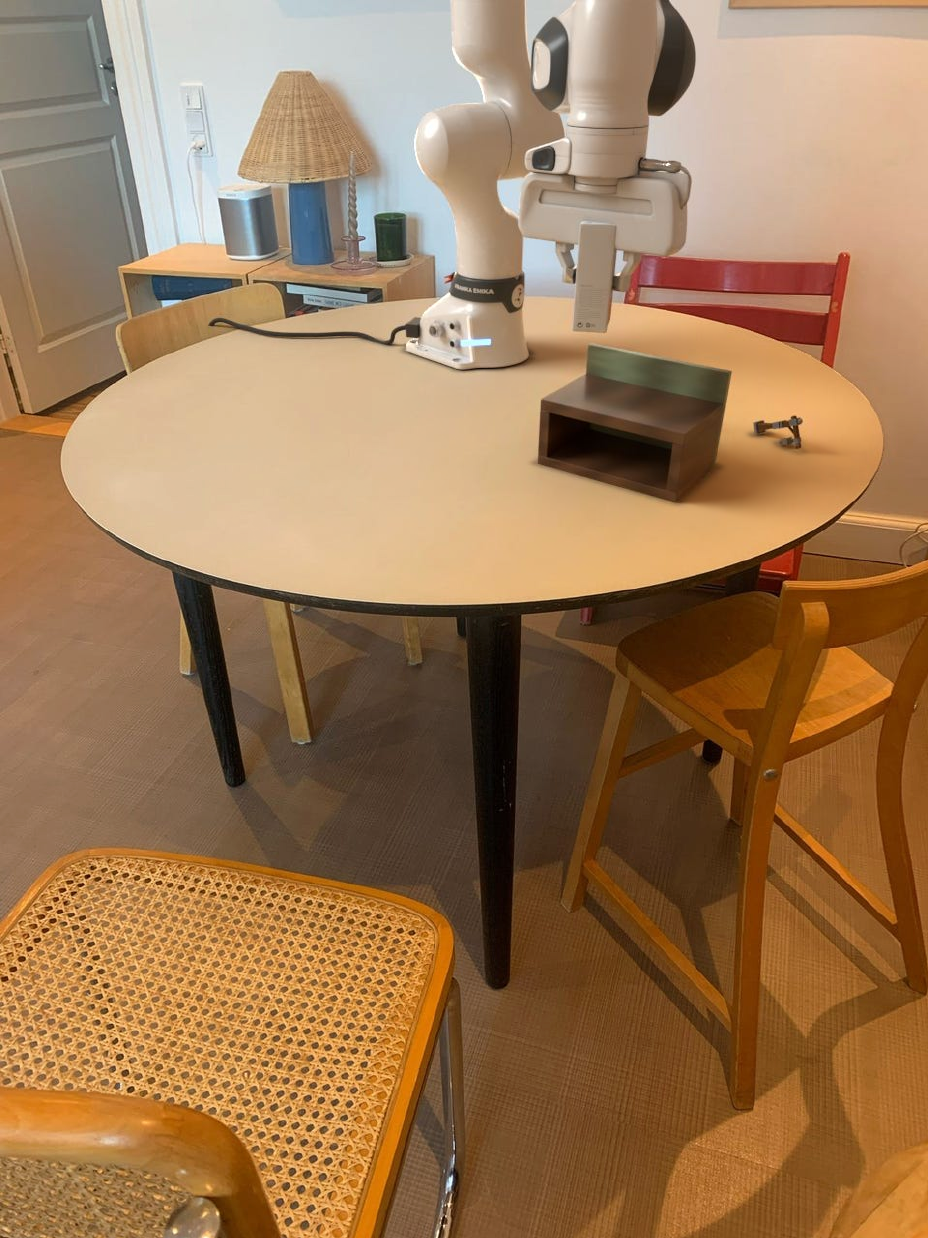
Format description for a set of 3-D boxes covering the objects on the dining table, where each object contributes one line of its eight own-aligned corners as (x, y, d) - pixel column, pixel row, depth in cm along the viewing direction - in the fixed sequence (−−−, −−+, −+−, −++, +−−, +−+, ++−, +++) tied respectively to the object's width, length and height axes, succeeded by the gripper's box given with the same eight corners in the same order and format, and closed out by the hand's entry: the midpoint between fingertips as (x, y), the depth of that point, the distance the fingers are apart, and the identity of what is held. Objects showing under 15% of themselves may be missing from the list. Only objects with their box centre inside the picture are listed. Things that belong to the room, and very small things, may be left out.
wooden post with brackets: (800, 449, 119) (796, 415, 117) (756, 452, 126) (753, 420, 125) (809, 446, 119) (806, 413, 118) (765, 449, 126) (762, 418, 125)
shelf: (537, 463, 117) (542, 368, 110) (584, 432, 126) (591, 342, 119) (675, 502, 108) (690, 401, 100) (715, 465, 116) (732, 370, 109)
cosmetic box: (607, 334, 103) (617, 224, 96) (571, 332, 103) (578, 223, 97) (611, 319, 108) (620, 215, 101) (576, 318, 108) (584, 213, 102)
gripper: (706, 158, 92) (687, 293, 100) (542, 146, 102) (537, 269, 110) (681, 165, 88) (664, 305, 96) (512, 151, 98) (509, 279, 106)
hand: (594, 286), depth 103 cm, fingers closed on cosmetic box, 5 cm apart
